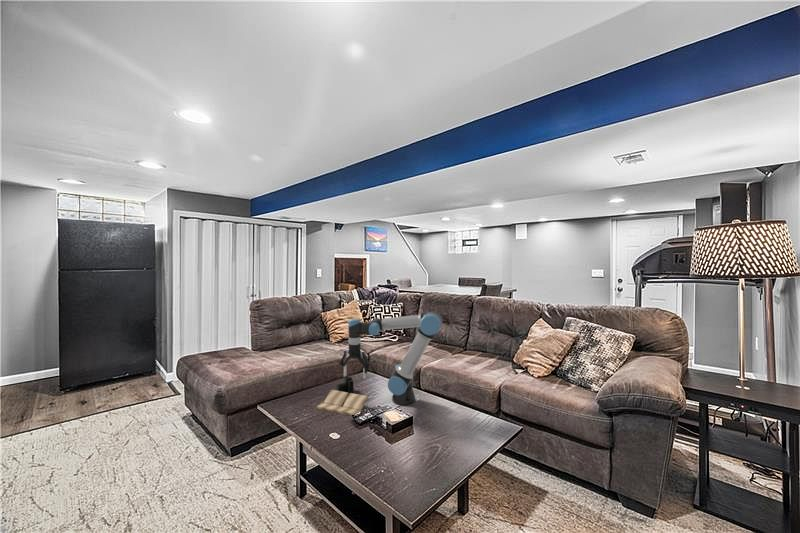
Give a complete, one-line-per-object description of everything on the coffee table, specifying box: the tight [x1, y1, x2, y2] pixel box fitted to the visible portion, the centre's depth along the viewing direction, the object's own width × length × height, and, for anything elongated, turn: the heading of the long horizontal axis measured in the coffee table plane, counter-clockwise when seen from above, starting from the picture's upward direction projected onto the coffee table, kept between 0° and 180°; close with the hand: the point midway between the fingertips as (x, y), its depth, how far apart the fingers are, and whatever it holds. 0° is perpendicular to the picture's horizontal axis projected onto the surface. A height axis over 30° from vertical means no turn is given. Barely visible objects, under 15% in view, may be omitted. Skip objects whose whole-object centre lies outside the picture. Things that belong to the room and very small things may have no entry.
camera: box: [336, 375, 354, 395], centre depth 231 cm, size 14×11×10 cm
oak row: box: [316, 401, 363, 417], centre depth 203 cm, size 28×6×2 cm, turn 68°
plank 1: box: [323, 389, 349, 406], centre depth 213 cm, size 13×10×1 cm
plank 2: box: [342, 392, 369, 411], centre depth 208 cm, size 13×10×1 cm
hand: (354, 377), depth 212 cm, fingers open, 13 cm apart
